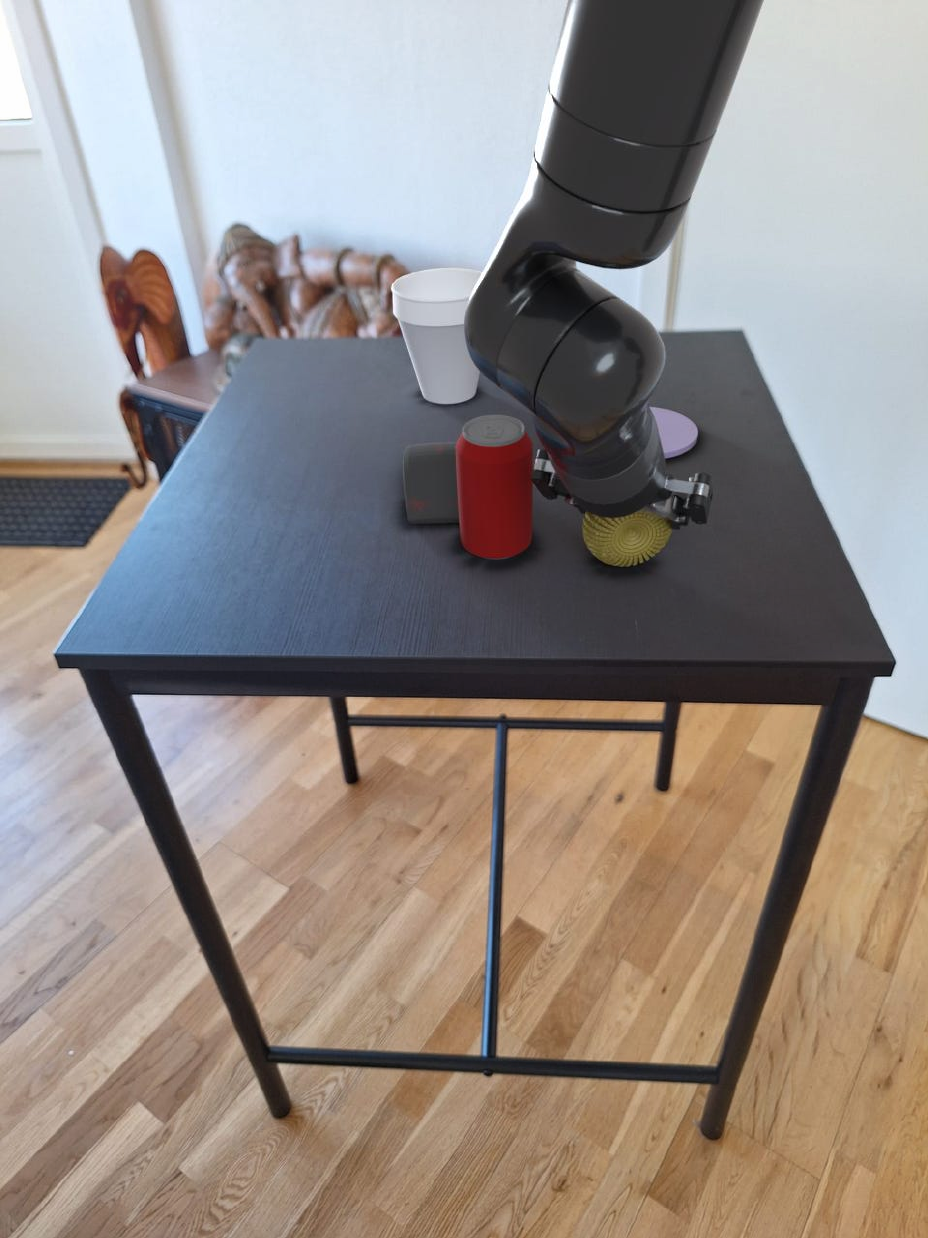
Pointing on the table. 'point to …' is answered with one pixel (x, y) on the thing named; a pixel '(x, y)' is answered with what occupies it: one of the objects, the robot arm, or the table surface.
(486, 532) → the beverage can
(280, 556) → the table surface
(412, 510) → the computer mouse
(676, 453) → the saucer
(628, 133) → the robot arm
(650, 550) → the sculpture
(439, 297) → the cup
